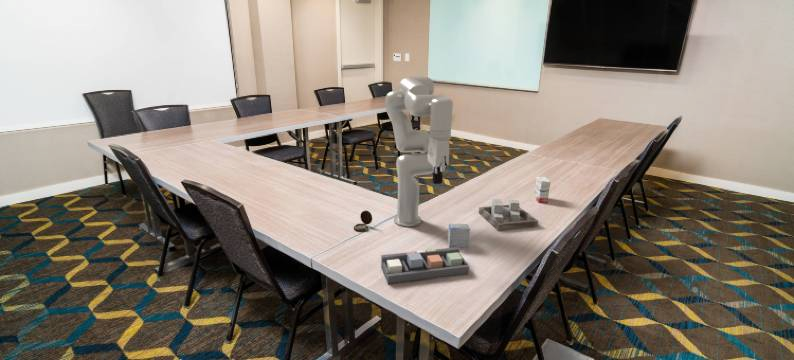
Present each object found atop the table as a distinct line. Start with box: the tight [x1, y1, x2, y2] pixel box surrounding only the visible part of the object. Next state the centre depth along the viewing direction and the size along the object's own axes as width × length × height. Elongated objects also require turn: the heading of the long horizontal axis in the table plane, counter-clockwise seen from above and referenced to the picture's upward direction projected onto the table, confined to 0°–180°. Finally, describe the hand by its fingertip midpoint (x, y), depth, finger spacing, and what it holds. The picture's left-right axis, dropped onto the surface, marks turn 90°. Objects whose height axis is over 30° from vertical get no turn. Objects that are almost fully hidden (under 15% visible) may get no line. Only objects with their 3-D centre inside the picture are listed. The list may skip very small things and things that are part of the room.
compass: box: [353, 210, 373, 233], centre depth 174 cm, size 8×8×7 cm
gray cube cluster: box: [490, 198, 521, 223], centre depth 186 cm, size 12×12×8 cm
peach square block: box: [427, 255, 443, 269], centre depth 144 cm, size 4×4×3 cm
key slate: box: [407, 253, 423, 268], centre depth 142 cm, size 4×4×3 cm
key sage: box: [446, 252, 464, 267], centre depth 146 cm, size 4×4×3 cm
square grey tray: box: [478, 204, 539, 232], centre depth 187 cm, size 20×20×3 cm
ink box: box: [533, 176, 552, 204], centre depth 210 cm, size 9×5×12 cm, turn 179°
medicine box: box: [447, 223, 471, 248], centre depth 162 cm, size 8×4×9 cm, turn 92°
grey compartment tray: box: [380, 247, 470, 285], centre depth 143 cm, size 11×30×5 cm, turn 104°
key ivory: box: [387, 259, 402, 274], centre depth 141 cm, size 4×4×3 cm
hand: (437, 182), depth 147 cm, fingers closed
